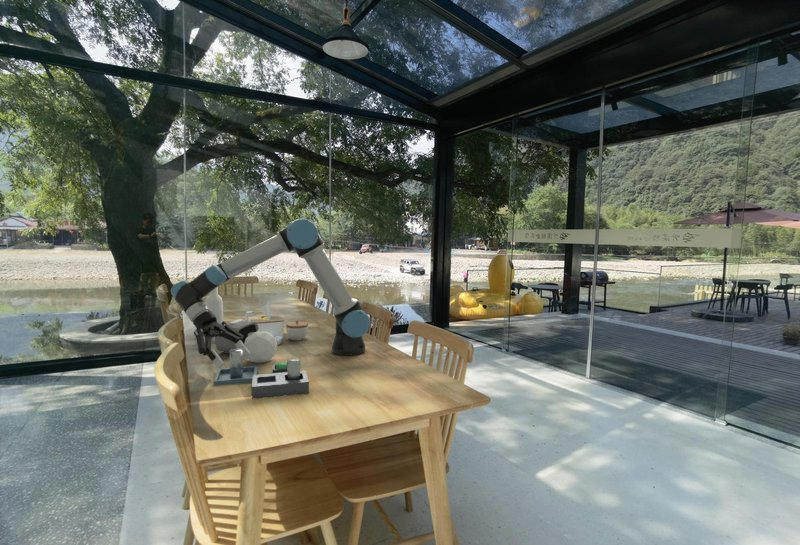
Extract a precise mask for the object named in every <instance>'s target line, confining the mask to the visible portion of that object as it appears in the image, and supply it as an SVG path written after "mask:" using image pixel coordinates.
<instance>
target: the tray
mask: <svg viewBox="0 0 800 545" xmlns="http://www.w3.org/2000/svg"><path fill="white" fill-rule="evenodd" d="M253 375H258V365H253V366H243V377H242V378H238V379H231V378H230V367H227V368H219V369H218V368H217V371H216V372H215V375H214V376H215V377H214V380H213V386H214V387H215V386H222V385H223V386H224V385H225V386H226V385H237V384H246V383H247V384H248V383H252V380H253Z"/></svg>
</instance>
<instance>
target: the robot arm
mask: <svg viewBox="0 0 800 545" xmlns="http://www.w3.org/2000/svg"><path fill="white" fill-rule="evenodd" d="M318 229H319V228H318V227H317V225H316V224H315V223H314V222H313V221H311V220H310V219H308V218H305V217H304V218H303V217H301V218H297V219H294V220H293V221H292V222H290V223H289V224H288V225H286V226H285V227H284V228H283V229H280V230H279V231H277V233H276V235H274V236H272V237H270V238H268V239H266V240H264V241H262V242H259V243H258V244H256V245H254V246H252V247H250V248H248V249H246V250H244V251H242V252H240V253H238V254H237V255H234V256H232V257H230V258H228V259H226V260H224V261H222V262H221V263H218V264H212V265H210V266H209V267H208V268H206V269H205V270H204V271H203V272H202V273H200V274H199V275H198V276H196V277H195V278H194V279H192V280H191V281H188V280H181V281H179V282H176V283H175V284H174V285H172V287H171V289H170V293H171V295H172V298H174V301H175V302H176V303H177V304H178V306H179V307H180V308H181V309H182V311H183V312H184V314H186V316H187V317H188V319H189V321H191V322H192V324H193V326H194V327H195V328H196V329H195V330H194V331H193V335H194V337H195V339H196V340H195V341H196V344H197V349H198V353H199V354H200V355H203V356H207V357H208V358H209V359H210V361H212V362H213V363H214V364H215V366H216V368H217V370H218V369H221V368H222V367H223V365H224V364H225V361H223V359H222V358H221V357H220V355H219V354H218V353H217V352H216V350H215V349H214V348H212V343H211V342H212V338H213V337H217V336H219V337H224V338H226V339H228V340H230V341H232V342H234V343H236V344H235V345H236V347H237V348H238V349H242V350H243V358H245V359H246V358H247V356H248V355H249V354H250V352H249V350H248V349H247V348H246V345H245V344H244V343H243V342H242V339H243V337H244V336H243V335H242V334H240V333H239V332H237V331H236V330H234V329H233V328H232V327H230V326H229V325H228V324H227V323H228V322H226V321H224V320H223V322H222V323H221V324H219V323H217V321H216V317H215V315H214V314H213V313H212V312H211V311H210V309H209V308H208V307H207V305H206V302H205V301H204V299H203V298H204V297H206V296H207V295H208V294H210V292H211V291H213V290H214V289H215V288H216V287H218V288H219V287H220V286H222V284H223V283H225V282H227V281H229V280H231V279H233V278H235V277H236V276H239V275H240V274H243V273H245V272H247V271H249V270H251V269H252V268H254V267H256V266H259V265H260V264H262V263H264V262H266V261H268V260H270V259H273V258H274V257H277V256H278V255H280V254H283V253H284V252H288V253H289V252H291V251H293V250H294V251H295V253H296V255H297V256H298V257H299V258H300V259H303V260H305V262H306V264H307V265H308V267H309V268H310V270H311V272H312V273H313V275H314V277H315V279H316V281H317V282H318V284H319V285H320V288H321V289H322V291H323V292H324V294H325V295H326V297H327V299H328V301H329V302H330V304H331V305H332V307H333V311H332V315H333V316H334V318H335V336H334V338H333V342H332V345H331V352H332V354H335V355H338V356H339V355H340V356H356V354H357V355H360V354H364V353H365V352H366V344H365V341H364V337H363V336H364V335H365V334H366V333H368V331H369V329H370V324H371V320H370V317H369V314H368V313H366V312H365V310H364V308H363V305H362V301H360V300H358V299H357V298H353V297H352V296H351V294H350V292H349V291H348V288H347V287H346V285H345V283H344V282H343V280H342V278H341V277H340V275H339V273H338V271H337V269H336V267H335V266H334V264H333V263H332V260H331V259H330V257H329V256H328V254H327V252H326V251H325V249H324V246H325V241H324V240H323V238H322V237H321V234H320V233H319V230H318ZM221 331H222V332H221Z"/></svg>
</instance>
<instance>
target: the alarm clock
mask: <svg viewBox="0 0 800 545" xmlns="http://www.w3.org/2000/svg"><path fill="white" fill-rule="evenodd" d="M226 323H227V324H228V325H229V326H230V327H232V328H233V329H234V330H236V331H237V332H239V333H240V334H242V335H243V336H244V337H243V339H242V342H243V343H245V340H246V338H247V337H248V334H250V332H251V333H252V332H258V330H260V329H259V325H258V323H257V322H256V321H253V320H244V319H241V318H240V319H239V318H238V319H235V320H232V321H229V322H226ZM221 332H222V331H221ZM214 344H215V348H216V350H217V351H219V352H223V354H230V350H231V349H238V348H237V347H236V345H235V344H236V343H234V342H232V341H230V340H228V339H226V338H224V337H219V336H217V337H215V343H214Z"/></svg>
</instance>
